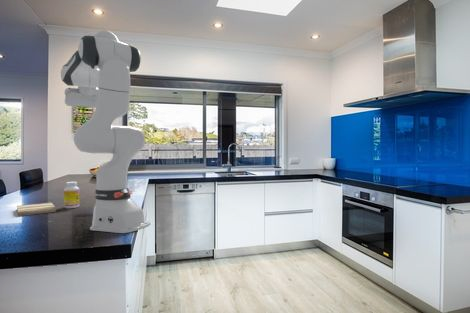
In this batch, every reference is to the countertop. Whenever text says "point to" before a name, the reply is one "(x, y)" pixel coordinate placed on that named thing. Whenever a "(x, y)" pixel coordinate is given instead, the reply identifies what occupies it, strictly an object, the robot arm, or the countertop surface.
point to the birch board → (35, 209)
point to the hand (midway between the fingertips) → (86, 114)
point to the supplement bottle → (71, 195)
